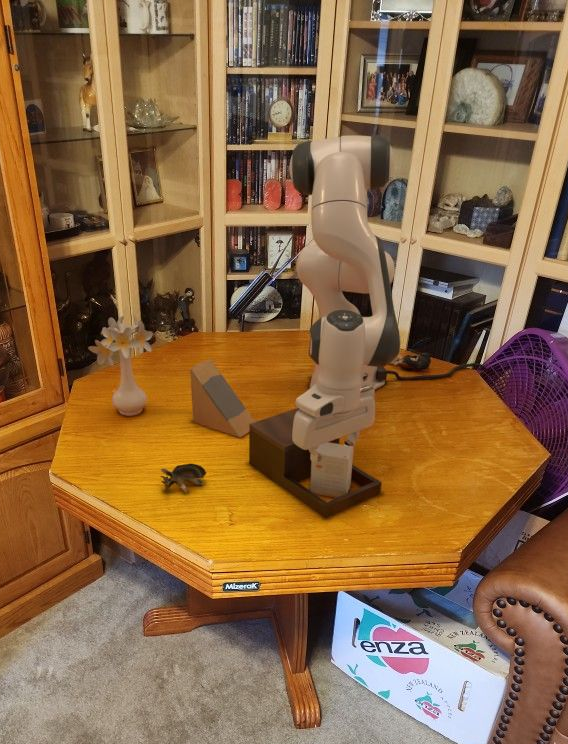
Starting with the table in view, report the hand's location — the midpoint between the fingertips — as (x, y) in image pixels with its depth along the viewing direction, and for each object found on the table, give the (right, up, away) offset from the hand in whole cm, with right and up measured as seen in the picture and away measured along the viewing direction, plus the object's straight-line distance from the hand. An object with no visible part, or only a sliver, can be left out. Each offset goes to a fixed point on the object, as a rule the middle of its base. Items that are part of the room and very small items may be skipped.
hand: (332, 454), depth 141 cm
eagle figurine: (-32, -7, +6) cm, 34 cm away
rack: (-3, -5, +10) cm, 11 cm away
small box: (0, -8, +6) cm, 9 cm away
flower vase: (-49, +14, +37) cm, 63 cm away
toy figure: (+30, +31, +63) cm, 77 cm away
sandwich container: (-24, +10, +32) cm, 41 cm away
